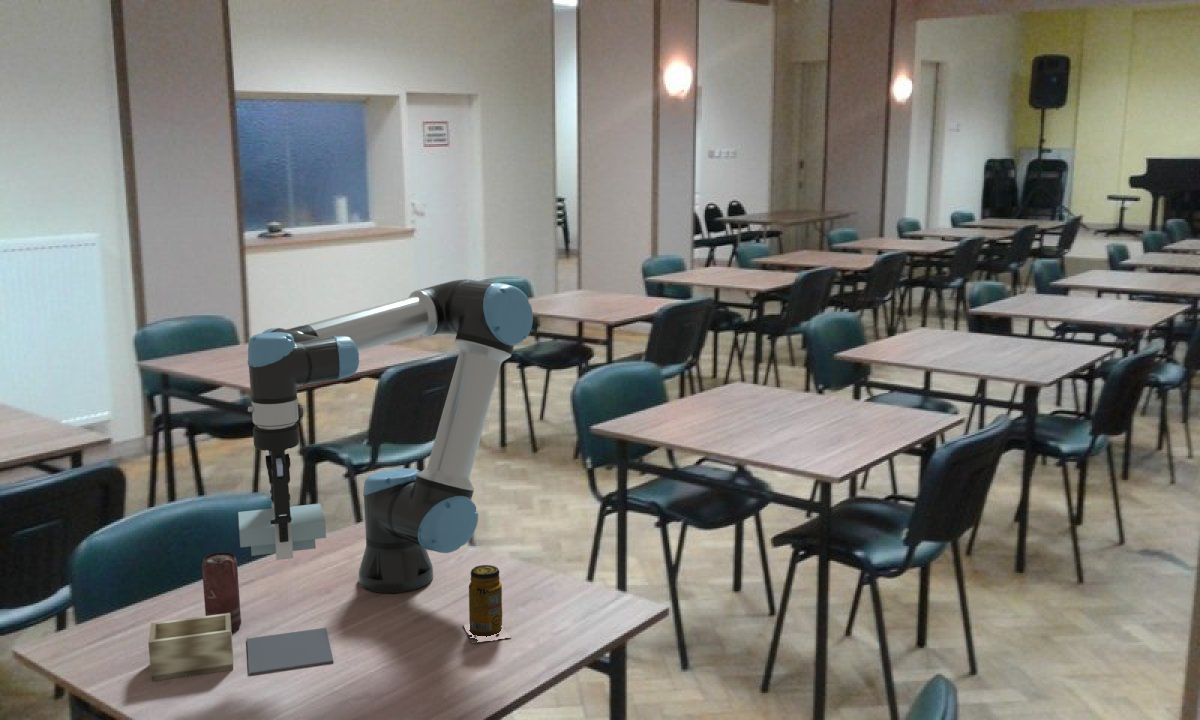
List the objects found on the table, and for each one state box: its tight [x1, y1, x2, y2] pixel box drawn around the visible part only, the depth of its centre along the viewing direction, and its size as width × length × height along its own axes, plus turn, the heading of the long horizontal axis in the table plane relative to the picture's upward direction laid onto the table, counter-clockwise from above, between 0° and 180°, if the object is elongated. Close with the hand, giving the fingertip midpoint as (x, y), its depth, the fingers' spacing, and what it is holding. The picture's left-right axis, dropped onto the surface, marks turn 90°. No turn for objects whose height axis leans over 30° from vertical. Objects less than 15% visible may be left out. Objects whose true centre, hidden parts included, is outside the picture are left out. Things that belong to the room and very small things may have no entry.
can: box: [201, 552, 242, 633], centre depth 201 cm, size 6×6×14 cm
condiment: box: [466, 564, 503, 644], centre depth 199 cm, size 7×8×12 cm
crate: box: [147, 613, 234, 682], centre depth 187 cm, size 13×8×7 cm, turn 109°
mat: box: [246, 627, 334, 676], centre depth 192 cm, size 14×14×1 cm
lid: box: [237, 503, 327, 557], centre depth 188 cm, size 14×10×6 cm
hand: (283, 547), depth 189 cm, fingers closed on lid, 10 cm apart
